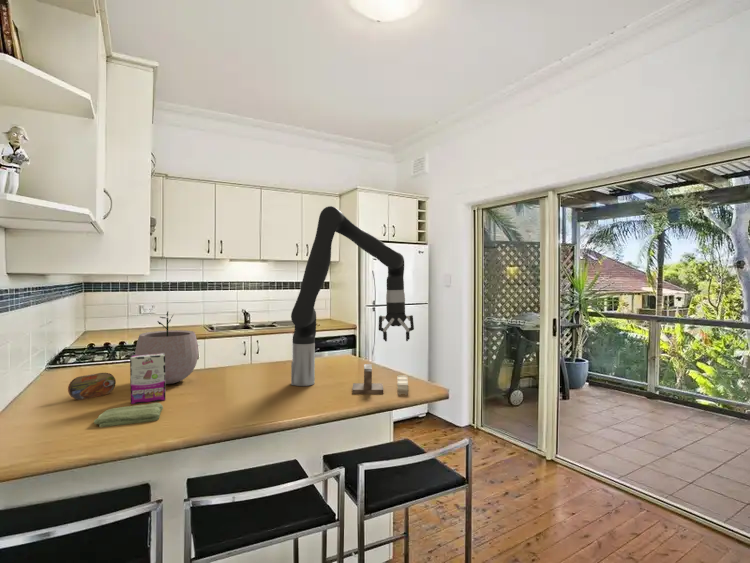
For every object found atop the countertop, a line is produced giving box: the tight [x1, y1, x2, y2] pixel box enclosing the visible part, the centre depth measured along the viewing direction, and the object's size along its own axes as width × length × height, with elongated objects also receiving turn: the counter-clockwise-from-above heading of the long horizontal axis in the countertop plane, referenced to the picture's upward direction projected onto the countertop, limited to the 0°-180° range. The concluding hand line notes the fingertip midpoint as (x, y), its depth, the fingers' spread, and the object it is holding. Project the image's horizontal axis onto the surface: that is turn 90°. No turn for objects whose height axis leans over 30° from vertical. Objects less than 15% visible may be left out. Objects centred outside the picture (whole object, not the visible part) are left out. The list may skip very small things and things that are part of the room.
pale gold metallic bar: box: [396, 374, 409, 396], centre depth 173 cm, size 16×4×4 cm, turn 177°
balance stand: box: [351, 363, 384, 395], centre depth 171 cm, size 12×10×10 cm
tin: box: [67, 372, 117, 401], centre depth 159 cm, size 15×3×8 cm, turn 143°
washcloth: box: [93, 402, 164, 428], centre depth 135 cm, size 13×18×3 cm
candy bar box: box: [129, 353, 166, 405], centre depth 154 cm, size 11×5×16 cm, turn 118°
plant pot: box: [134, 311, 199, 385], centre depth 180 cm, size 24×24×30 cm
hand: (396, 341), depth 174 cm, fingers open, 8 cm apart
